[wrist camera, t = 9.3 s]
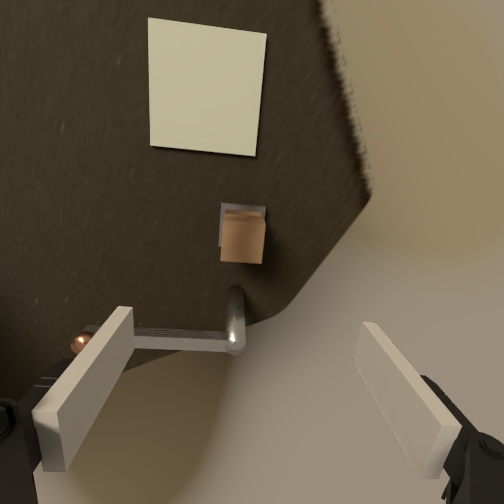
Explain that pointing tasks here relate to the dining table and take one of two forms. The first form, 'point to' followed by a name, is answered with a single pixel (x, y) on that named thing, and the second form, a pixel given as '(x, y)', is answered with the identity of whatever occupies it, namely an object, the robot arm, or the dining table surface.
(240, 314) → the grey l-shaped handle
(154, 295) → the dining table surface
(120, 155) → the dining table surface
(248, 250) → the brown boxy piece
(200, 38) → the sage mat
